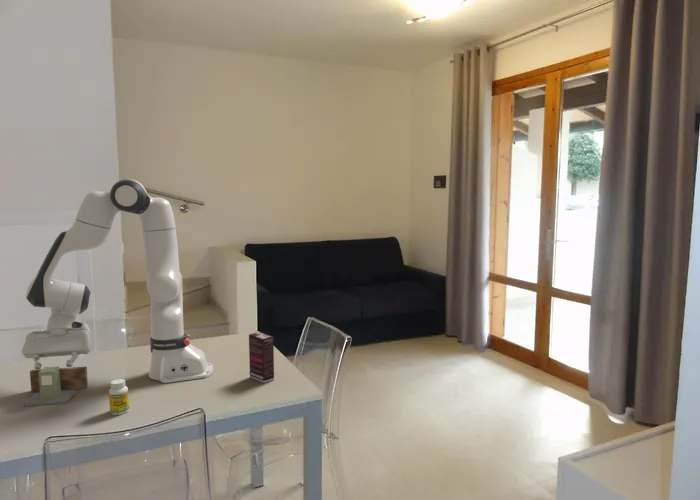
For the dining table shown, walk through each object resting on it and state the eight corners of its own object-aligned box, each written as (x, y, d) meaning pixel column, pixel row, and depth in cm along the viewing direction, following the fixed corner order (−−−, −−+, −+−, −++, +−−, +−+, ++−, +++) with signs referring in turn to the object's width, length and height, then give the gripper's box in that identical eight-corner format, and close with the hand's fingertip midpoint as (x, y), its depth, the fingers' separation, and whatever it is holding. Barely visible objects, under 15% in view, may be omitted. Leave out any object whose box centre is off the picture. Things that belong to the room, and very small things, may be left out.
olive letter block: (61, 393, 168) (59, 366, 166) (55, 398, 163) (53, 371, 162) (46, 394, 167) (44, 367, 166) (40, 400, 162) (38, 372, 161)
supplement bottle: (127, 406, 160) (125, 376, 158) (131, 412, 155) (129, 382, 154) (108, 410, 157) (106, 380, 155) (111, 417, 152) (109, 386, 151)
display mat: (75, 391, 171) (75, 389, 170) (66, 403, 162) (66, 400, 162) (36, 394, 168) (36, 392, 168) (24, 406, 160) (24, 403, 159)
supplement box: (275, 379, 181) (274, 336, 179) (264, 383, 178) (263, 339, 176) (260, 373, 187) (259, 331, 185) (249, 377, 184) (248, 334, 182)
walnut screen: (88, 386, 175) (86, 366, 174) (86, 388, 174) (85, 368, 173) (33, 390, 172) (31, 369, 171) (31, 391, 171) (29, 371, 170)
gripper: (24, 327, 170) (14, 365, 162) (90, 323, 174) (84, 360, 166) (31, 336, 175) (21, 374, 167) (95, 332, 179) (89, 368, 171)
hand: (53, 367), depth 166 cm, fingers open, 8 cm apart
